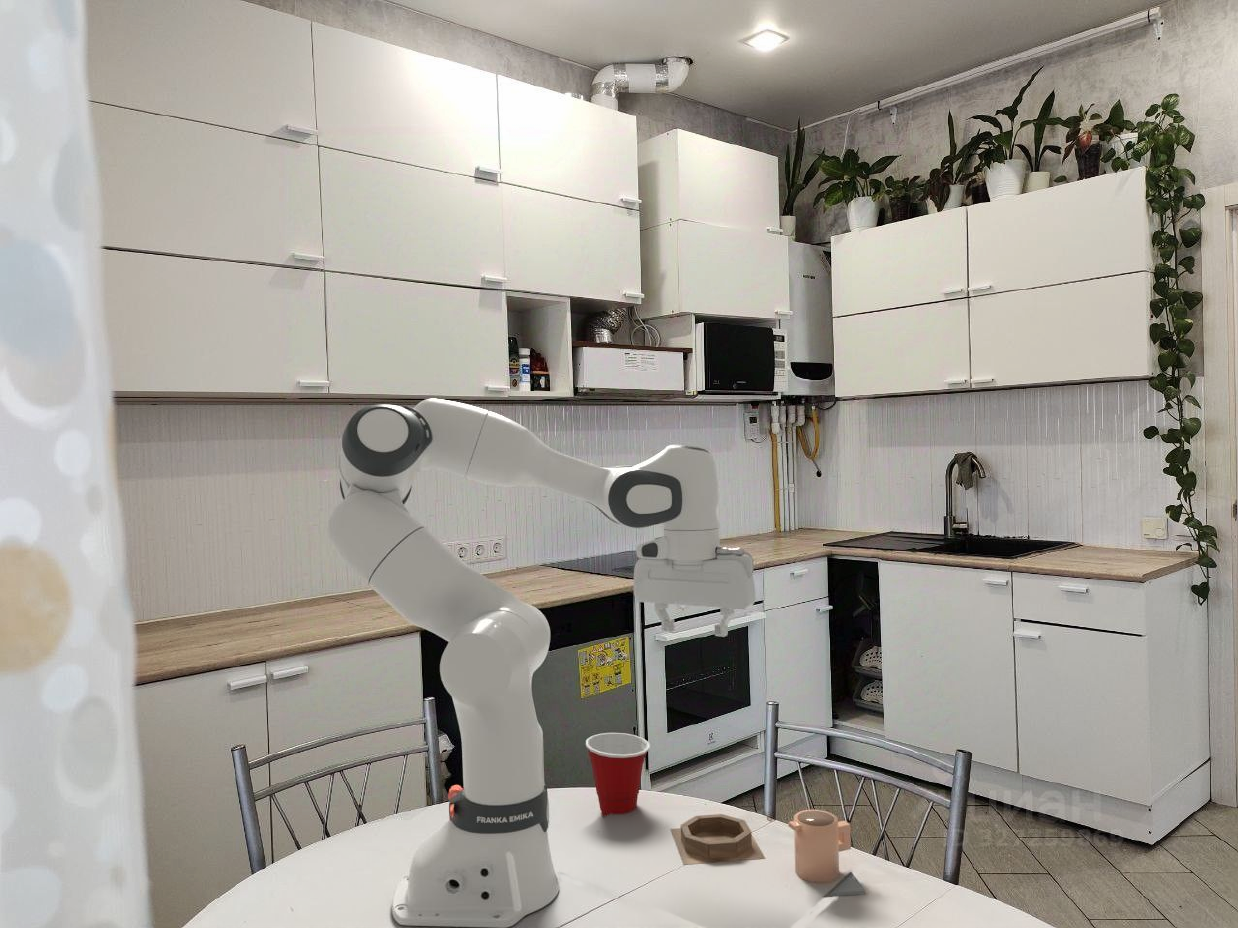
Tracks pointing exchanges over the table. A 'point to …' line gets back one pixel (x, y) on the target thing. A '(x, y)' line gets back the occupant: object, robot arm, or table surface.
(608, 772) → the plastic cup
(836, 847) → the jug
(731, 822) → the holder
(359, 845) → the table surface
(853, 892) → the slate mat
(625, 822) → the table surface
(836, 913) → the table surface
